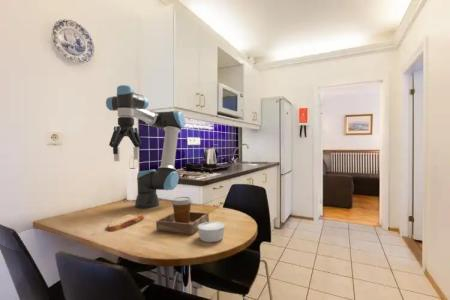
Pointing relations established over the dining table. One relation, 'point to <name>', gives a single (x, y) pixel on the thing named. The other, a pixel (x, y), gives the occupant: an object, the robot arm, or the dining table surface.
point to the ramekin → (211, 231)
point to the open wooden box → (182, 228)
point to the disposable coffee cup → (182, 209)
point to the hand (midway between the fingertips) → (127, 160)
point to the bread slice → (124, 222)
